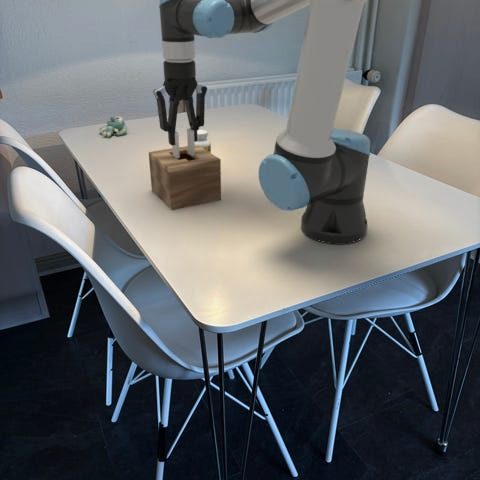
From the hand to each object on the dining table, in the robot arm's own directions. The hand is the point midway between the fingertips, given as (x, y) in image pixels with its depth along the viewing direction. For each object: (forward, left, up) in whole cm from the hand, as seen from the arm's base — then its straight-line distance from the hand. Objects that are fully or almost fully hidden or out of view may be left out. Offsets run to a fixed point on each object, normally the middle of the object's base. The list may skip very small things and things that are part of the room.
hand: (183, 155), depth 128 cm
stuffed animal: (+66, 0, -11) cm, 67 cm away
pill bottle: (+16, -12, -11) cm, 23 cm away
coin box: (0, 0, -11) cm, 11 cm away
